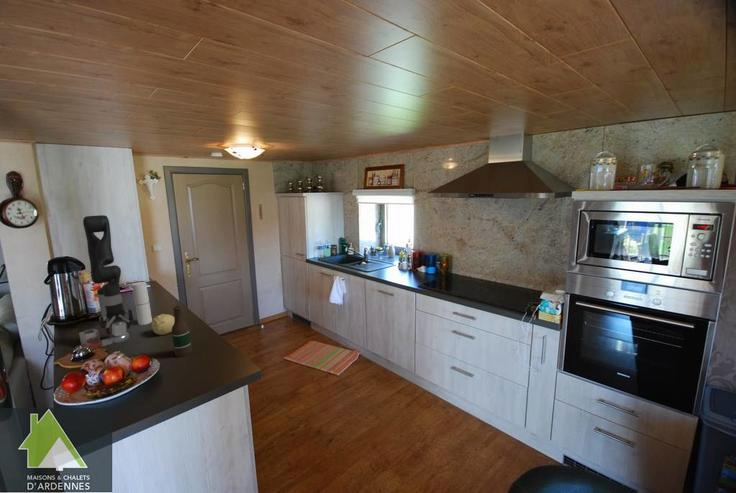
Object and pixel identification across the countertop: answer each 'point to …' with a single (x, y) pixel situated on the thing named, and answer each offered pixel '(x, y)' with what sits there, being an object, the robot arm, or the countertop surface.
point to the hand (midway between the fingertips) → (118, 331)
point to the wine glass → (107, 341)
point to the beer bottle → (180, 334)
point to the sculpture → (163, 324)
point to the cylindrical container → (142, 303)
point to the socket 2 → (119, 328)
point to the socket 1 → (89, 336)
